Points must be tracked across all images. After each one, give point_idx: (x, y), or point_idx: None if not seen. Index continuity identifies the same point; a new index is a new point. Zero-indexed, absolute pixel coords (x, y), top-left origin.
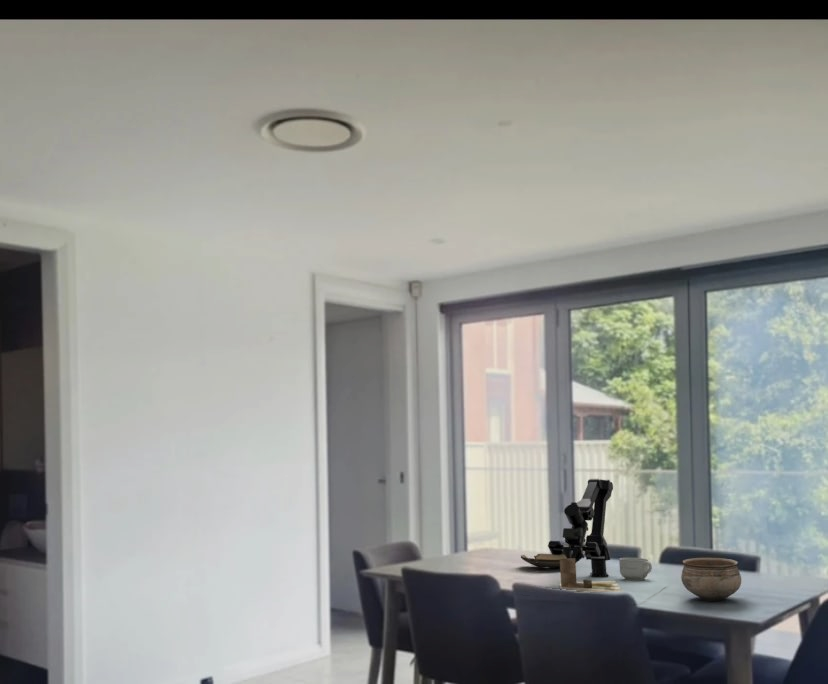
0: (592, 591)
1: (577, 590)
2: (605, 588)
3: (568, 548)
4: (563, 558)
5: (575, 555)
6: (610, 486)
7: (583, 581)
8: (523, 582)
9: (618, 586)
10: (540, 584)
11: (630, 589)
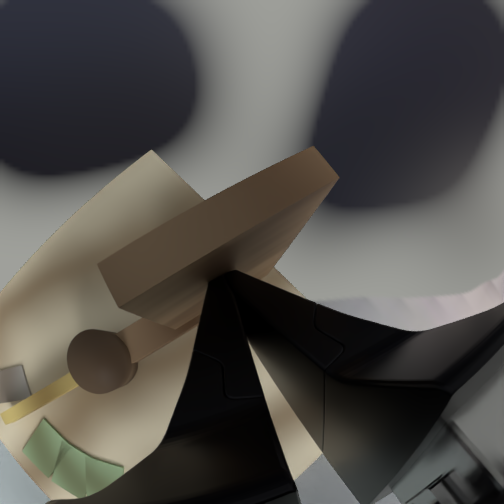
0: (32, 272)
1: (108, 241)
2: (19, 377)
3: (423, 371)
4: (280, 181)
5: (178, 407)
6: None
7: (113, 336)
8: (498, 289)
9: (28, 473)
10: (443, 311)
11: (10, 485)
